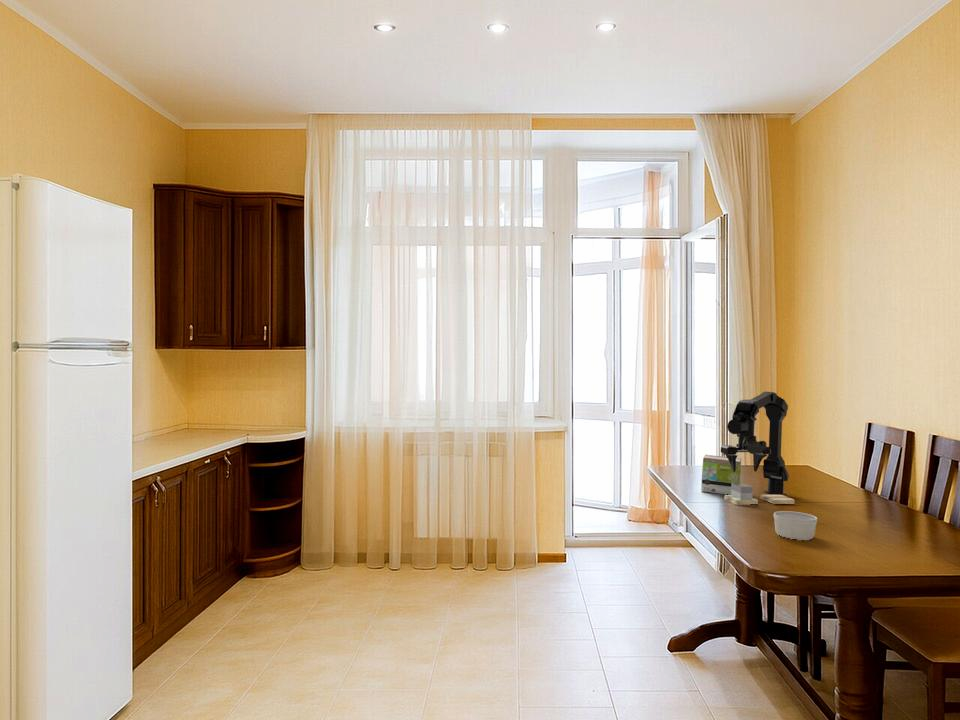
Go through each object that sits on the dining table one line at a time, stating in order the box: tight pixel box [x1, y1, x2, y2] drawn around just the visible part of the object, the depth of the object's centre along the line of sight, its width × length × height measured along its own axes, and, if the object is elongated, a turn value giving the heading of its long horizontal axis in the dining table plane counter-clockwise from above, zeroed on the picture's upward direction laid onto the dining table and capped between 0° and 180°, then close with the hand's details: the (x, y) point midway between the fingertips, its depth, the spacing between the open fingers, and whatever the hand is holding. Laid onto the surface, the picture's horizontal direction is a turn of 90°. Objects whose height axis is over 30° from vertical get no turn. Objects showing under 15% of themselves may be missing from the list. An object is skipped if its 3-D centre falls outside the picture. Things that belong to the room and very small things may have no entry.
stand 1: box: [724, 494, 759, 506], centre depth 284 cm, size 9×9×2 cm
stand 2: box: [760, 494, 795, 505], centre depth 287 cm, size 9×9×2 cm
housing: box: [731, 482, 754, 500], centre depth 284 cm, size 7×5×5 cm
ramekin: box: [773, 510, 818, 541], centre depth 236 cm, size 13×13×7 cm
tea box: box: [700, 454, 742, 495], centre depth 303 cm, size 15×10×15 cm, turn 68°
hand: (744, 471), depth 285 cm, fingers open, 9 cm apart
